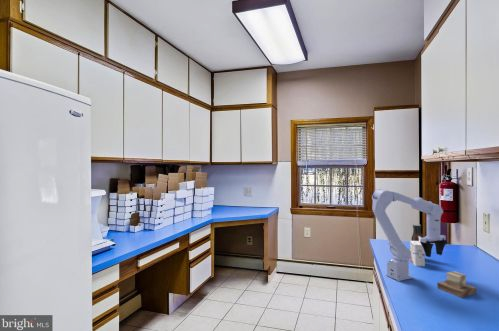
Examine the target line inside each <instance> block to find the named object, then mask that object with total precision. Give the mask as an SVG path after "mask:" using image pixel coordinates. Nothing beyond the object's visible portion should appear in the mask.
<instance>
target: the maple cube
mask: <svg viewBox="0 0 499 331" xmlns="http://www.w3.org/2000/svg"><path fill="white" fill-rule="evenodd" d="M466 276H467V275H466V274H465V273H461V272H458V271H455V270H453V271H448V272H446V281H447V284H448V285H451V286H453V287H456V288H462V287H465V286H466V284H467V283H466V282H467V277H466Z"/></svg>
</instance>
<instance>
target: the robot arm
mask: <svg viewBox="0 0 499 331" xmlns="http://www.w3.org/2000/svg"><path fill="white" fill-rule="evenodd" d="M371 199H372V206H371V207H372V213H373V214H374V216H375V218H376V220H377V222H378V224H379V225H380V227H381V229H382V231H383V233H384V235H385V236H386V239H387V240H388V245H389V251H390V253H391V259H389V260H388V261H387V263H386V269H387V270H386V273H387V274H386V273H385V276H387V277H389V278H391V279H393V280H396V281H399V282H400V281H405V280H411V279H413V278H414V276H412V275H409V274H410V273H409V272H410V271H409V268H410V266H409V264H410V262H409V260H410V257H411V251H410V248H408V247H407V246H406V244H405V243H404V241H402V239H401V238H400V236H399V235H398V233H397V231H396V229H395V227H394V225H393V224H392V222H391V220H390V218H389V216H388V214H387V213H386V210H387V208H388V207H389V206H390V205H391V203H392V202H396V201H398V202H401V203H404V204H408V205H409V206H411V209H413V210H416V211H419V212H422V213H425V214H426V236H423V238H421V241H420V243H421V245H422V246H423V249H424V251H425V257H427V258H431V257H432V250H433V246H434V244H435V253H436V255H439V256H443V255H442V254H443V252H444V248H445V246H446V245H447V243H448V241H447V240H446V235H444V234H441V218H442V215H443V214H444V210H443V208H442V206H441V205H440V204H436V203H433V202H432V201H430V200H429V201H427V200H425V199H424V197H423V198H422V197H414V198H411V197H409V196H406V195H404V194H401V193H399V192H396V191H390V190H385V189H380V188H378V189H376V190H374V192H373V194H372V196H371ZM431 242H434V243H431Z"/></svg>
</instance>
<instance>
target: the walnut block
mask: <svg viewBox="0 0 499 331" xmlns="http://www.w3.org/2000/svg"><path fill="white" fill-rule="evenodd" d="M437 289H438V290H441V291H442V292H443V291H444V292H445V293H449V294H451V295H453V296H455V297H458V298H460V299H461V298H466V297H469V296H472V295H476V294H477V287H475V286H473V285H470V284H468V283H466V286H465V287H462V288H456V287H453V286H451V285H448V284H447V280H443V281H440V282H439V281H438V282H437Z"/></svg>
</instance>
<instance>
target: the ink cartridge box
mask: <svg viewBox="0 0 499 331" xmlns="http://www.w3.org/2000/svg"><path fill="white" fill-rule="evenodd" d="M418 237H419V241H411V240H409V245H410V247H409V250H410V251H411V257H410V259H409V260H410V262H411V263H412V264H413V265H414V266H415V267H426V263H425V262H426V255H425V251H424V249H423V246H422V245H421V243H420V241H421V237H420V236H418Z"/></svg>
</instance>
